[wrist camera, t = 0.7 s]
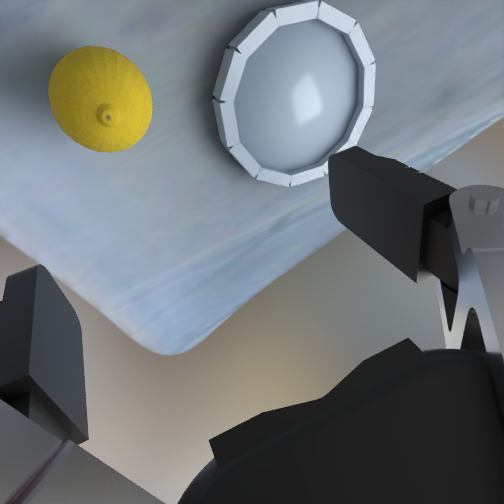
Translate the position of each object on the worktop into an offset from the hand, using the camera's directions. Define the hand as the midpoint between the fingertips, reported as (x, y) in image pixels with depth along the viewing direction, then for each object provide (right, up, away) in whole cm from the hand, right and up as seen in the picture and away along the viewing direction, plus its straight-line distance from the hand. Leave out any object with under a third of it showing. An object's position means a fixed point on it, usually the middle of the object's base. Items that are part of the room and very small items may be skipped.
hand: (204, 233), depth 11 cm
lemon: (-9, +10, +15) cm, 20 cm away
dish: (+5, +12, +20) cm, 24 cm away
